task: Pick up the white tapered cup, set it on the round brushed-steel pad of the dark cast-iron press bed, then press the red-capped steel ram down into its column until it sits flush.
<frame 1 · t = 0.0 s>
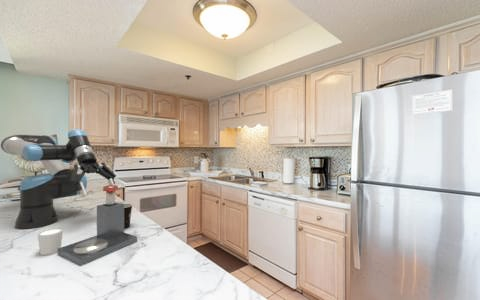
hand: (100, 193, 103), 15 cm above the countertop, tool tilted 35°, fingers open, 13 cm apart
ram: (110, 200, 88), point 16 cm above the countertop, slide at 0.0 cm
coffee mug: (124, 226, 103), on the countertop
white tapered cup: (50, 251, 78), on the countertop
press: (99, 247, 81), on the countertop
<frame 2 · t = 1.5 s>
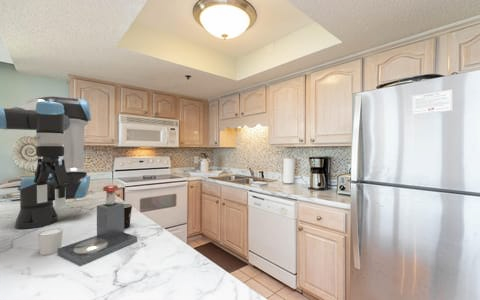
hand: (50, 204, 78), 17 cm above the countertop, tool pointing down, fingers open, 13 cm apart
nothing on the countertop moved.
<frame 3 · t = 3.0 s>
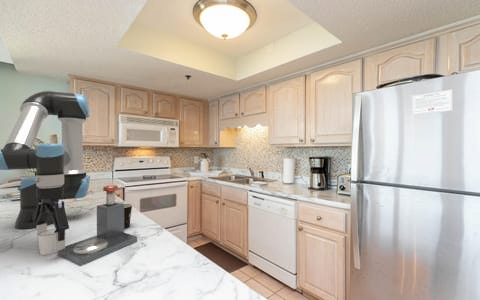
hand: (50, 246, 77), 2 cm above the countertop, tool pointing down, fingers open, 13 cm apart
nothing on the countertop moved.
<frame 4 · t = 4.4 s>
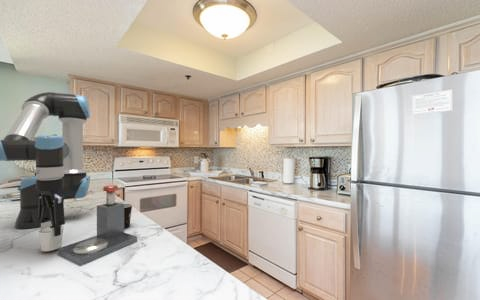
hand: (51, 241, 78), 3 cm above the countertop, tool pointing down, fingers closed on white tapered cup, 7 cm apart
white tapered cup: (51, 247, 78), point 1 cm above the countertop, touching gripper
everything else where it was.
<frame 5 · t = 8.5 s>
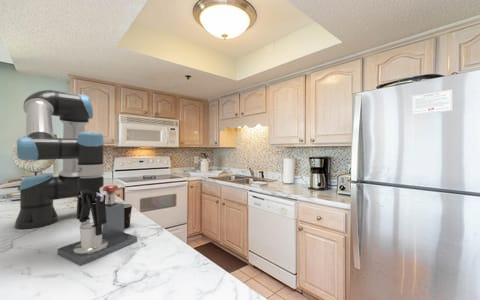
hand: (91, 241, 76), 4 cm above the countertop, tool pointing down, fingers closed on white tapered cup, 7 cm apart
white tapered cup: (91, 245, 76), point 3 cm above the countertop, touching gripper, press
everything else where it was.
when the fingers open (4 cm above the countertop, at t = 9.0 s): white tapered cup stays where it is, resting on press.
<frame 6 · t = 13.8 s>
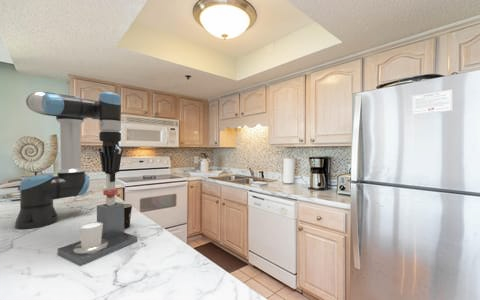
hand: (110, 189, 88), 20 cm above the countertop, tool pointing down, fingers closed
ram: (110, 204, 88), point 14 cm above the countertop, slide at 1.6 cm, touching gripper
white tapered cup: (91, 245, 76), point 3 cm above the countertop, touching press
everything else where it was.
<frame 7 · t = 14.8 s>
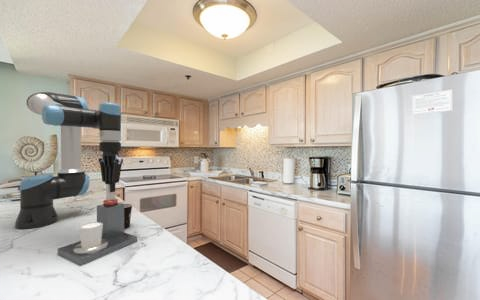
hand: (110, 199, 88), 16 cm above the countertop, tool pointing down, fingers closed
ram: (110, 214, 88), point 10 cm above the countertop, slide at 5.7 cm, touching gripper
everything else where it was.
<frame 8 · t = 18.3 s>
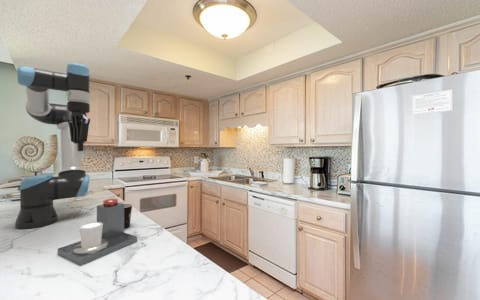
hand: (78, 158, 91), 32 cm above the countertop, tool pointing down, fingers closed
ram: (110, 214, 88), point 10 cm above the countertop, slide at 5.7 cm
everything else where it was.
at the end: white tapered cup inside the target area on the press (0.0 cm from its centre), point 2.8 cm above the press's base; white tapered cup tilted 0°; ram slide at 5.7 cm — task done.
